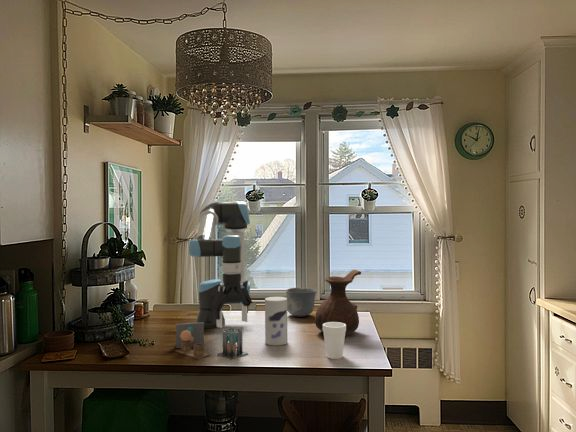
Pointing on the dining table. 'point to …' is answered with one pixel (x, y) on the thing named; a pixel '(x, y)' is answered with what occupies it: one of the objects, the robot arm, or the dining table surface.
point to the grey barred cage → (239, 350)
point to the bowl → (300, 301)
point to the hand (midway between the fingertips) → (232, 324)
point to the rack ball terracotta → (185, 335)
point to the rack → (192, 350)
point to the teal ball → (233, 338)
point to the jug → (338, 305)
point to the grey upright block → (195, 330)
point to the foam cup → (334, 339)
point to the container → (276, 320)
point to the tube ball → (230, 347)
